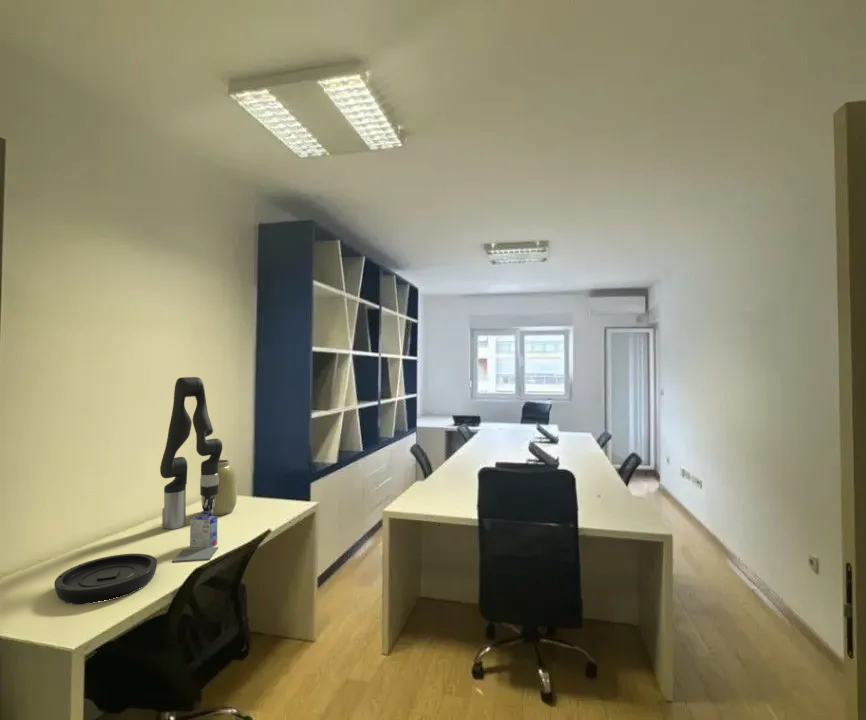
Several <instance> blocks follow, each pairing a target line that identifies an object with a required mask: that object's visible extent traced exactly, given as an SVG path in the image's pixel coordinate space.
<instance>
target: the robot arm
mask: <svg viewBox="0 0 866 720" xmlns="http://www.w3.org/2000/svg"><path fill="white" fill-rule="evenodd" d="M173 392H174V393H173V403H172V404H173V405H172V413H171V417H170V420H169V426H168V432H167V439H166V443H165V449H164V451H163V455H162V458H161V462H160V466H159V467H160V468H159V474H160V476H161V477H162V478H163V479H171V478H174V479H173V480H172V481H170V482H169V483H167V484H166V485H165V486H164V487H163V489H164V490H163V491H164V492H163V498H164V499H163V505H164V506H163V508H162V509H161V510H162V511H161V512H162V516H161V517H162V518H161V519H162V521H161V522H162V525H161V526H162V529H165V528H166V529H165V530H174V529H180V528H183V527H185V526H186V516H187V515H186V511H187V510H186V508H187V507H186V505H187V503H186V502H187V501H186V499H187V498H186V497H187V496H186V495H187V490H186V489H187V487H186V486H187V485H188V483H187V481H188V461H187V459H186V458H185V457H184V456H178V457H176V454H177V452H178V451H179V449H180V448H181V447H182V446H183V445H184V444H185V442H186V441H187V439H188V438H189V437H190V434H191V429H192V425H193V428H194V432H195V434H196V435H195V436H196V439H195V440H196V446H195V448H196V449H195V450H196V452H197V454H198V455H199V456H201V457H207V456H209V457H208V458H207V459H205V460H203V461H201V463H200V479H199V480H200V484H199V487H200V488H199V490H200V492H199V493H200V496H201V497H202V496H204V497H205V500H204V505H203V506H202V505H201V508H202V511H210V513H209V516H213V514H212V513H213V511H214V510H215V504H216V498H214V497H215V495H216V494H218V493H219V476H218V463H219V460H221V455H222V451H223V443H222V440H221V439H220V438H209V439H206V438H207V437H209V436H211V435H212V434H213V433H214V429H213V426H212V421H211V419H210V416H209V412H208V405H207V398H206V392H205V386H204V383H203V380H202V378H200V377H198V376H189V377H188V376H184V377H178V378H177V380H176V381H175V385H174V391H173ZM191 397H192V398H193V397H194V398H195V400H196V407H195V410H194V412H193V415H192V419H191V417H190V414H189V413H188V411H187V410H186V407H185V401H186V398H191ZM207 514H208V513H203V515H207Z"/></svg>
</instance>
